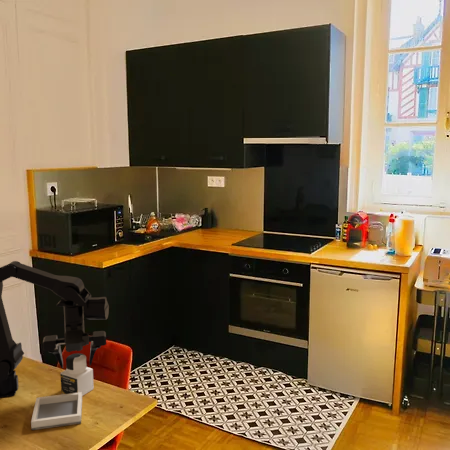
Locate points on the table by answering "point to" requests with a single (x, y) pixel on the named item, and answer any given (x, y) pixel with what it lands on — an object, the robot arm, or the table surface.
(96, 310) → the robot arm
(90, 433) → the table surface
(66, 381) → the medicine bottle
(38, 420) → the walled box
